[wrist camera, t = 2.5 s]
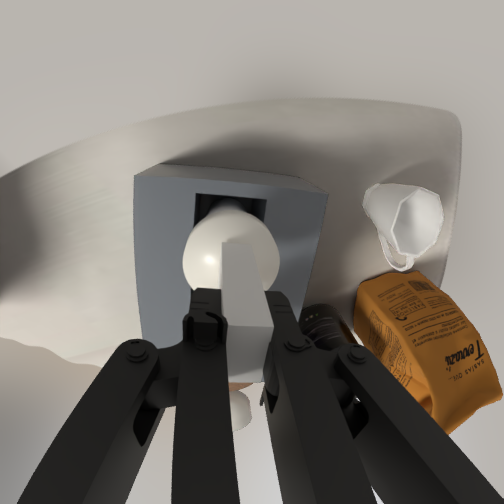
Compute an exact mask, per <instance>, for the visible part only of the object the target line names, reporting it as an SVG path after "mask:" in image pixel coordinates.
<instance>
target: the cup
mask: <svg viewBox="0 0 504 504" xmlns="http://www.w3.org/2000/svg"><path fill="white" fill-rule="evenodd" d="M362 206H363V208H364V210H365V213H366V215H367V217H369V218H371V220H372V222H373V223H374V225H375V226H376V228H377V232H378V236H379V240H380V243H381V246H382V250H383V253H384V255H385V258H386V260H387V261H388V263H389V264H390V266H392V267H393V268H394V269H396V270H399V271H401V272H402V271H405V270H408V269H410V268H412V266H413V264H414V259H415V258H418V257H419V256H421V255H422V254H423V253H424V252H426V251H427V250H428V249H429V248H431V247H432V246H433V245H434V244H436V242H437V239H438V236H439V233H440V231H441V228H442V225H443V222H444V219H445V217H444V213H443V208H442V204H441V200H440V196H439V194H436V193H434V192H432V191H430V190H427V189H425V188H423V187H420V186H412V185H403V184H395V183H390V184H379V183H376V184H375V185H373V186H372V187H370V188H369V189H367V190H366V192H365V195H364V199H363V202H362ZM387 241H388V242H389V243H390V244H391V246H392V247H393V248H394V249H395V250H396V252H397V253H398V254H401V255H406V266H405V267H404V266H401V265H400V264H398V263H397V262H396V261H395V260H394V258H393V257H392V255H391V252H390V250H389V247H388V244H387Z"/></svg>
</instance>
